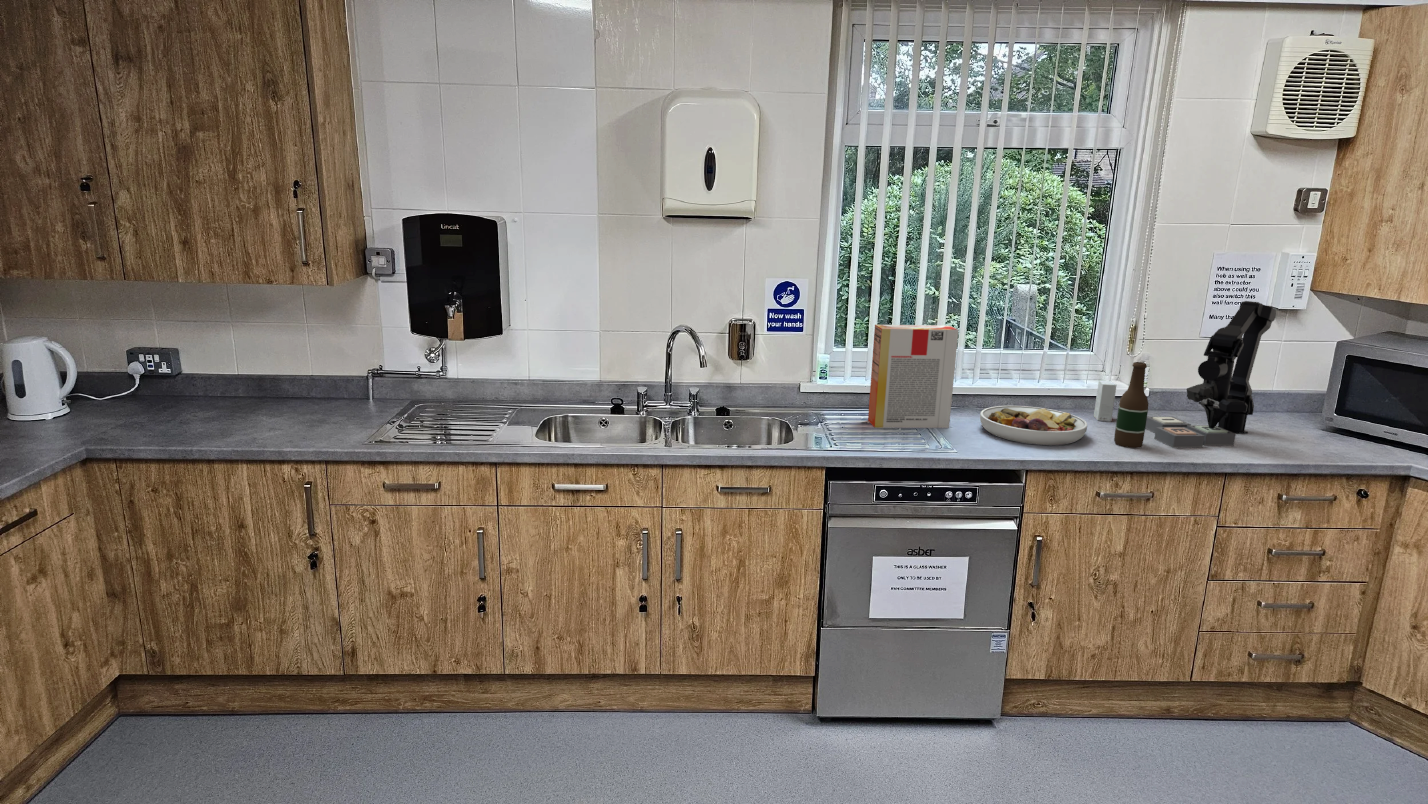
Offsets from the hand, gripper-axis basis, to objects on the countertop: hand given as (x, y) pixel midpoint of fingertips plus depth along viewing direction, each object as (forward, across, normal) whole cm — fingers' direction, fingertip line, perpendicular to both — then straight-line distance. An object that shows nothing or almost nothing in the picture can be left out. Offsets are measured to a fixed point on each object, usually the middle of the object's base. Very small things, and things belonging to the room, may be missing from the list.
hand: (1211, 428), depth 251 cm
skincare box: (+4, -25, -19) cm, 32 cm away
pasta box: (+4, -19, -85) cm, 87 cm away
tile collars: (+4, -4, -6) cm, 8 cm away
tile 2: (+3, 0, 0) cm, 3 cm away
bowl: (+4, -9, -50) cm, 51 cm away
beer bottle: (+4, +3, -27) cm, 28 cm away
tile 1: (+3, -10, -7) cm, 12 cm away
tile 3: (+3, +2, -11) cm, 12 cm away
